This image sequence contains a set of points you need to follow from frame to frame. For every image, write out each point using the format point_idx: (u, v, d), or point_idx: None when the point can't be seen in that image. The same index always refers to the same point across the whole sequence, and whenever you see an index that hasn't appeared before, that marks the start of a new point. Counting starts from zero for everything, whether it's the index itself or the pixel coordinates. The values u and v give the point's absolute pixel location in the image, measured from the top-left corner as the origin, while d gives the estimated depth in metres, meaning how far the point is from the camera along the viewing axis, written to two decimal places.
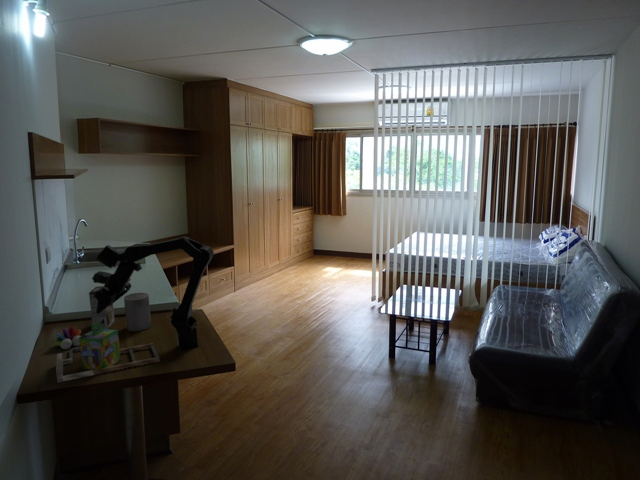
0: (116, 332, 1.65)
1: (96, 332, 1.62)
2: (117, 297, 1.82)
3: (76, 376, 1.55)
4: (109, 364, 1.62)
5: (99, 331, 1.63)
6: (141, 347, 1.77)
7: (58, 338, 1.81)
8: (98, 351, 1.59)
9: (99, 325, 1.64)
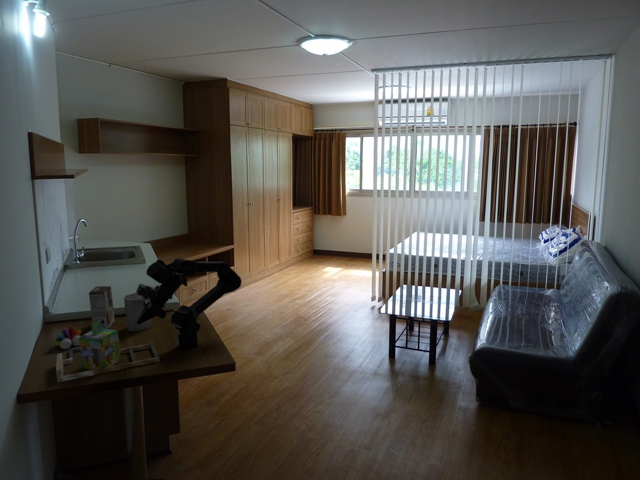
0: (116, 332, 1.65)
1: (96, 332, 1.62)
2: None
3: (76, 376, 1.55)
4: (109, 364, 1.62)
5: (99, 331, 1.63)
6: (141, 347, 1.77)
7: (58, 338, 1.81)
8: (99, 351, 1.59)
9: (99, 325, 1.64)
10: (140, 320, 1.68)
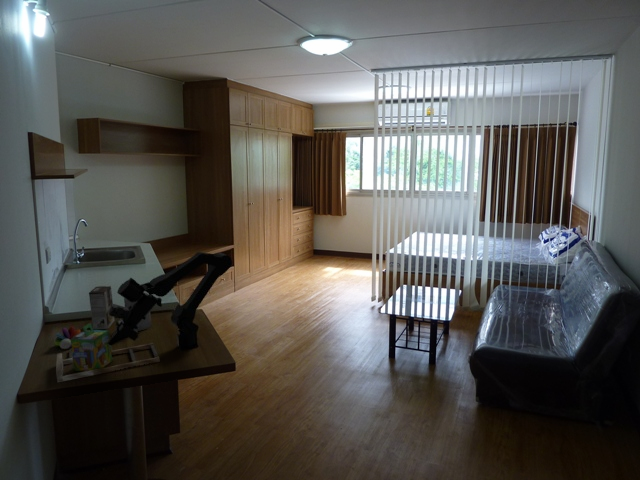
0: (108, 333, 1.65)
1: (88, 333, 1.61)
2: None
3: (76, 376, 1.55)
4: (102, 365, 1.61)
5: (91, 332, 1.62)
6: (141, 347, 1.77)
7: (57, 338, 1.81)
8: (91, 352, 1.58)
9: (90, 326, 1.63)
10: (112, 341, 1.64)
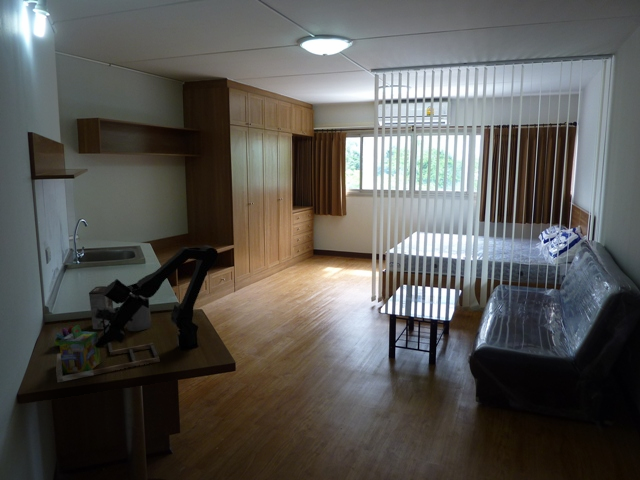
0: (96, 334, 1.64)
1: (76, 334, 1.60)
2: None
3: (76, 376, 1.55)
4: (92, 366, 1.60)
5: (79, 334, 1.61)
6: (141, 347, 1.77)
7: (57, 338, 1.81)
8: (81, 354, 1.57)
9: (78, 328, 1.62)
10: (99, 343, 1.63)
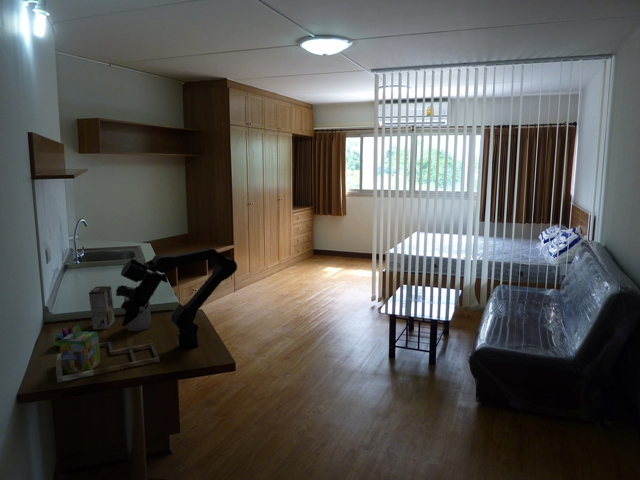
0: (96, 334, 1.64)
1: (76, 334, 1.60)
2: None
3: (76, 376, 1.55)
4: (92, 366, 1.60)
5: (79, 334, 1.61)
6: (141, 347, 1.77)
7: (57, 338, 1.81)
8: (81, 354, 1.57)
9: (78, 328, 1.62)
10: (124, 321, 1.66)
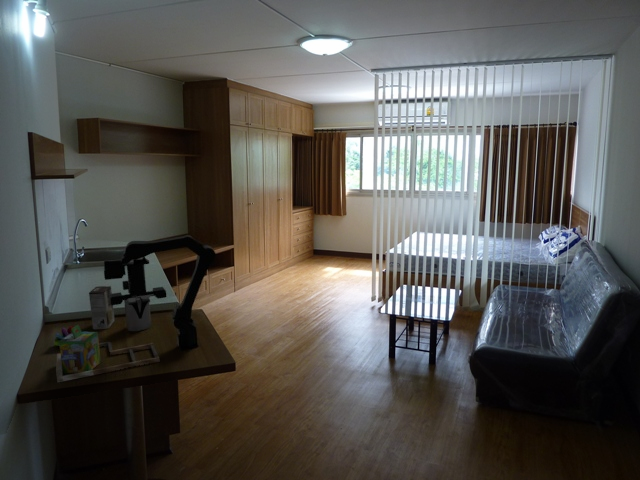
0: (96, 334, 1.64)
1: (76, 334, 1.60)
2: (140, 307, 1.70)
3: (76, 376, 1.55)
4: (92, 366, 1.60)
5: (79, 334, 1.61)
6: (141, 347, 1.77)
7: (57, 338, 1.81)
8: (81, 354, 1.57)
9: (78, 328, 1.62)
10: (137, 314, 1.72)
